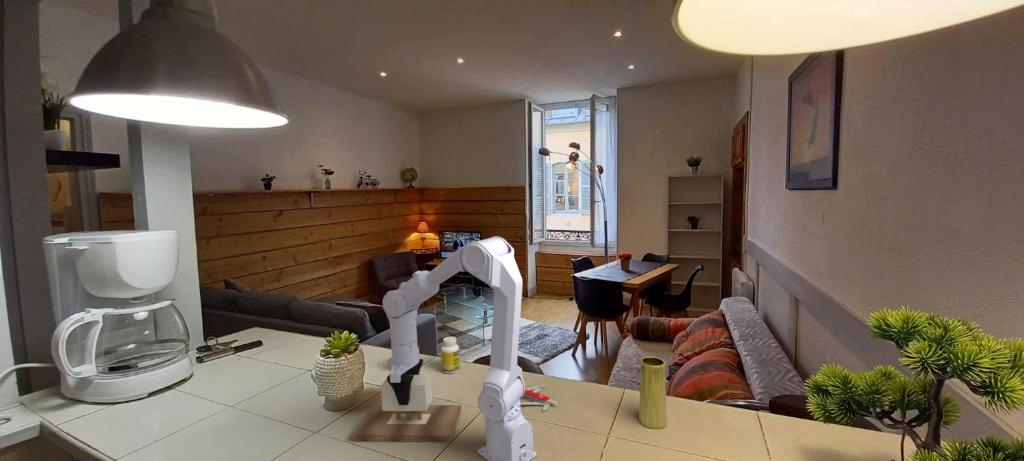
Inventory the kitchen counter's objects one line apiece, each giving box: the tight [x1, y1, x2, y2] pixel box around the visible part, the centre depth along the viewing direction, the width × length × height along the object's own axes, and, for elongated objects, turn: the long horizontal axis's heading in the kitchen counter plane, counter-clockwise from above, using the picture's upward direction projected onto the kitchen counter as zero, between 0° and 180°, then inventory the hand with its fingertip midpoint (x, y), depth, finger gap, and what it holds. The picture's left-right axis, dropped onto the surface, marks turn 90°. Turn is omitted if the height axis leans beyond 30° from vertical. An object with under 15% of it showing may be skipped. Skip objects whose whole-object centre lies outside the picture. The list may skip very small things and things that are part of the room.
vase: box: [638, 356, 668, 430], centre depth 89 cm, size 6×6×14 cm
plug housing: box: [380, 374, 433, 411], centre depth 91 cm, size 10×5×6 cm, turn 87°
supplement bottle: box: [440, 336, 461, 374], centre depth 119 cm, size 5×5×10 cm
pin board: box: [350, 404, 462, 443], centre depth 91 cm, size 22×12×4 cm, turn 87°
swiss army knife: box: [520, 383, 558, 412], centre depth 100 cm, size 12×14×2 cm
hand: (407, 397), depth 91 cm, fingers closed on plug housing, 5 cm apart
